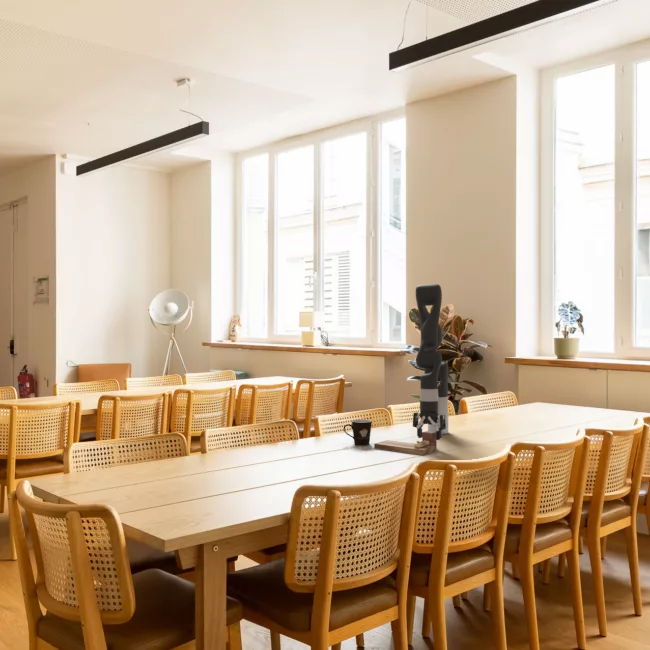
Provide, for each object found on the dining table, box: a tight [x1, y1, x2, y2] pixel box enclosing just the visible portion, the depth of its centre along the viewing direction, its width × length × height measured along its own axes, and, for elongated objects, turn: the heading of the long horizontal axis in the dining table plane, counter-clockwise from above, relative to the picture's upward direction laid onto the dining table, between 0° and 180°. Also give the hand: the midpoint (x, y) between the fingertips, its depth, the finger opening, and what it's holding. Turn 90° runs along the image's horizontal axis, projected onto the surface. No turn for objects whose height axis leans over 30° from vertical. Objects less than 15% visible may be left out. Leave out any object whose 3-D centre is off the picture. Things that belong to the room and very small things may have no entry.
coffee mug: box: [343, 418, 373, 447], centre depth 307 cm, size 12×9×10 cm
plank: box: [373, 439, 436, 456], centre depth 294 cm, size 10×23×2 cm, turn 52°
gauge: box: [414, 430, 438, 450], centre depth 292 cm, size 12×4×7 cm, turn 142°
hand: (429, 438), depth 295 cm, fingers open, 8 cm apart
